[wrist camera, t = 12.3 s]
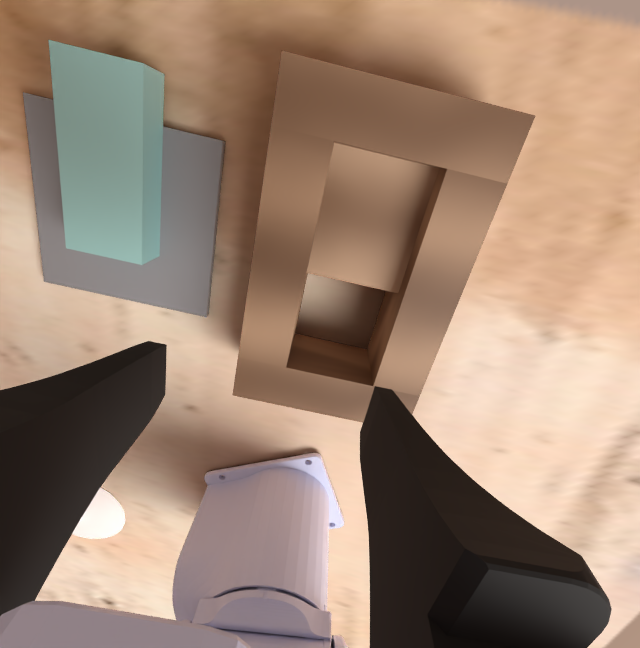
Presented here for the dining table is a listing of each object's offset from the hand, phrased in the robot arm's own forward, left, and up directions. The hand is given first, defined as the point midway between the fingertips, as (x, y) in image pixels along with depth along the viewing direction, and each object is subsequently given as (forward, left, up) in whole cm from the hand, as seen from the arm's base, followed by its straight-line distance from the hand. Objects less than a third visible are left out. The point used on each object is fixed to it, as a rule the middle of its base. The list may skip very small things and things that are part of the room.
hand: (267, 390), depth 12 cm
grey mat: (-8, +7, -10) cm, 15 cm away
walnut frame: (+3, +1, -10) cm, 11 cm away
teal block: (-7, +9, -10) cm, 15 cm away
